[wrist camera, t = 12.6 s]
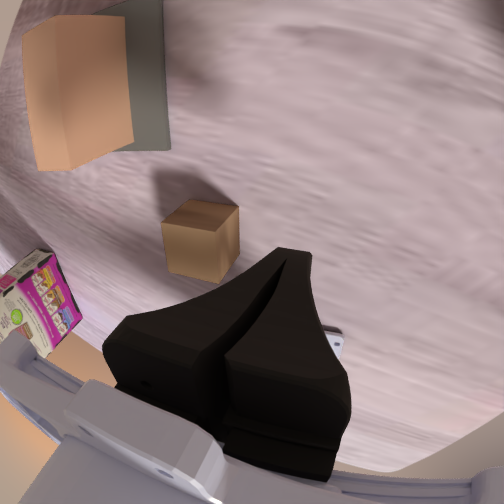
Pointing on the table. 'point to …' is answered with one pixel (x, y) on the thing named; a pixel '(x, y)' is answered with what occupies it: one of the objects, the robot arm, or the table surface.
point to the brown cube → (202, 239)
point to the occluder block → (76, 89)
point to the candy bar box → (37, 302)
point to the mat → (145, 73)
